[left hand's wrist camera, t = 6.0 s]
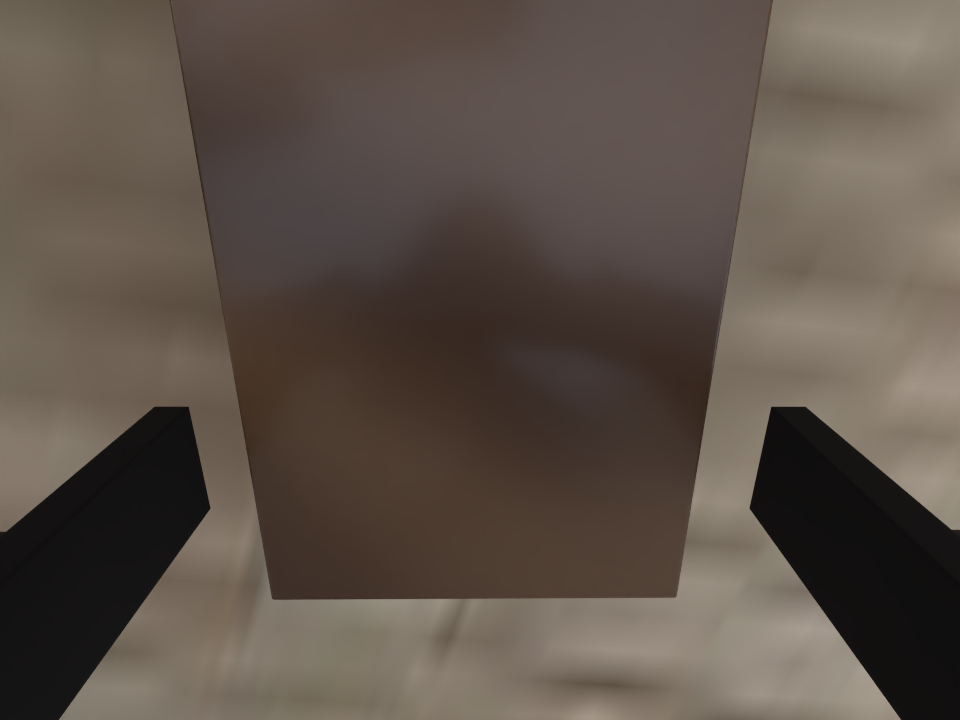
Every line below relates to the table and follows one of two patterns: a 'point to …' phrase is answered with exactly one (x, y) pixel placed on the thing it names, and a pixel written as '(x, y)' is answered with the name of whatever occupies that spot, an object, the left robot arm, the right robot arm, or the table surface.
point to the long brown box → (472, 279)
